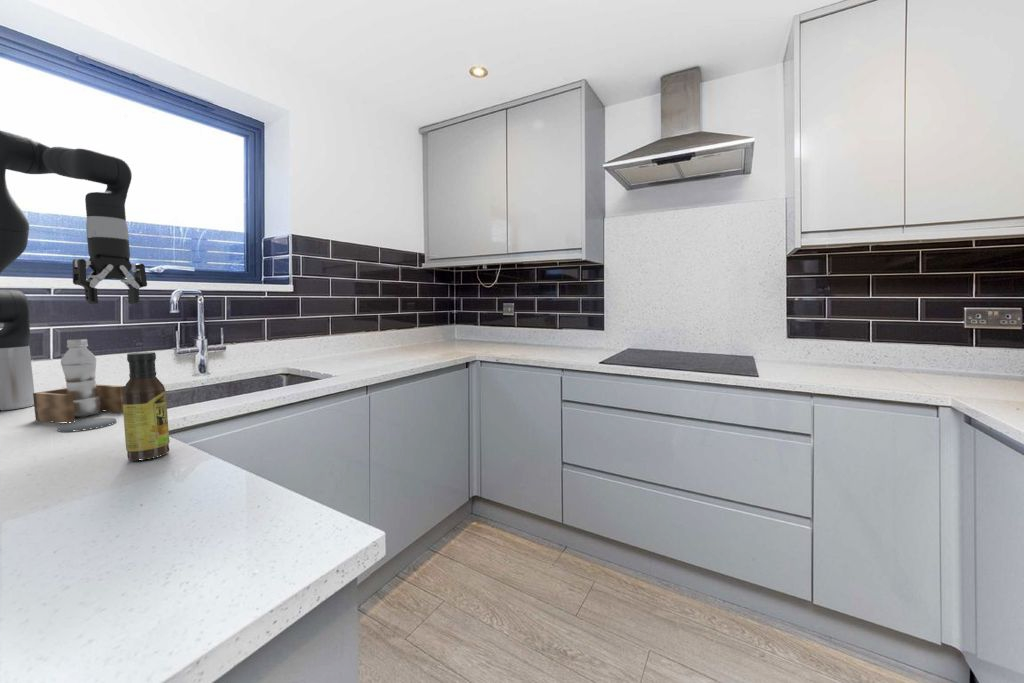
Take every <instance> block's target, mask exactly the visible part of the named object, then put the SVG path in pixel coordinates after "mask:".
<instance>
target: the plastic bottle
mask: <svg viewBox="0 0 1024 683" xmlns="http://www.w3.org/2000/svg"><path fill="white" fill-rule="evenodd" d="M87 347H89V343H88V339H87V338H84V339H83V338H81V339H67V341H66V348H68V350H66V352H65V353H64V354H63V356H61V359H60V365H61V369H62V371H63V374H64V375H63V376H64V379H65V382H66V384H65V385H66V388H67V394H70V395H72V396H73V406H74V416H75V418H76V417H80V416H85V417H89V416H92V415H95V414H98V413H99V412H100V409H101V401H100V398H99V396H98V392H97V388H96V381H97V380H96V369H97V368H96V367H97V358H96V356H95V354H93V352H92V351H90V350H89V349H88V348H87ZM88 415H89V416H88Z"/></svg>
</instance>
